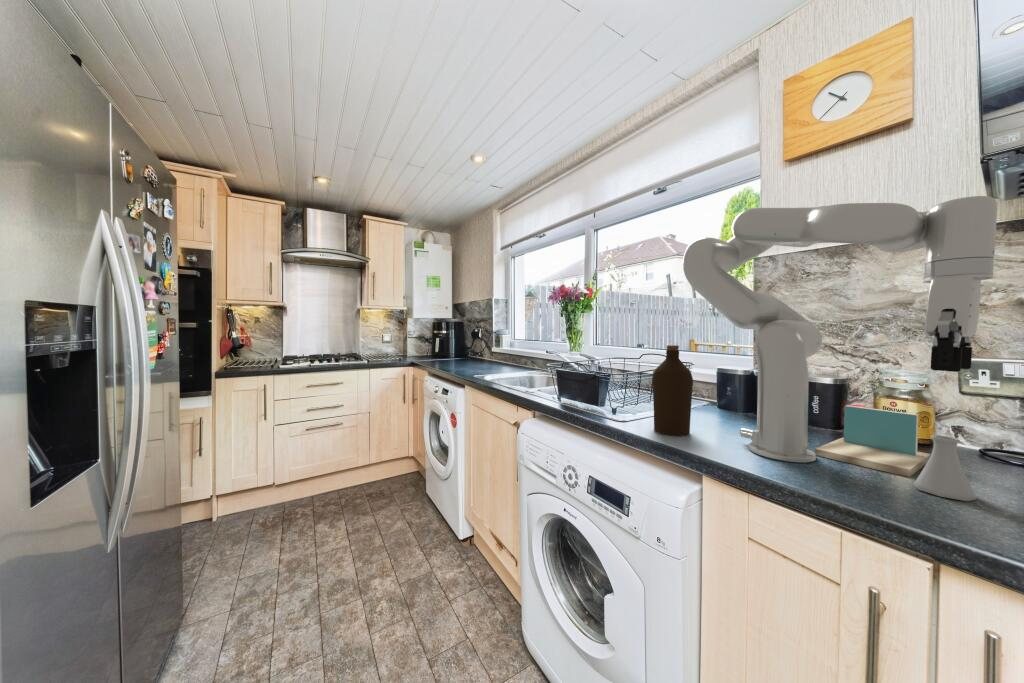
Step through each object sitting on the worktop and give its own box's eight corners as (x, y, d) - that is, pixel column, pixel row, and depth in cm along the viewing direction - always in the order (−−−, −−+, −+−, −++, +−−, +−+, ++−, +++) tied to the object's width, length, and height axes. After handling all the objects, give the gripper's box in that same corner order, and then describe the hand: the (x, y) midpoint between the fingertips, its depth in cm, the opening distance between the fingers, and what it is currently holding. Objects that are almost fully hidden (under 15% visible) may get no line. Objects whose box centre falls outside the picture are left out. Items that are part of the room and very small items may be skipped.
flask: (916, 481, 68) (918, 430, 68) (978, 495, 62) (980, 439, 62) (909, 490, 64) (911, 435, 64) (975, 506, 58) (977, 446, 58)
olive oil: (667, 438, 96) (668, 346, 96) (644, 428, 106) (645, 345, 106) (700, 435, 98) (702, 346, 98) (675, 426, 109) (676, 344, 108)
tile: (843, 441, 89) (844, 405, 88) (846, 440, 89) (846, 405, 89) (915, 455, 78) (916, 415, 78) (917, 454, 79) (918, 414, 79)
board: (814, 455, 83) (815, 448, 83) (842, 443, 92) (842, 437, 92) (909, 477, 70) (909, 469, 70) (930, 460, 80) (930, 453, 80)
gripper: (935, 278, 70) (930, 365, 70) (912, 270, 61) (906, 369, 61) (1000, 274, 63) (993, 369, 64) (985, 263, 54) (978, 374, 55)
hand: (951, 369), depth 63 cm, fingers open, 9 cm apart
